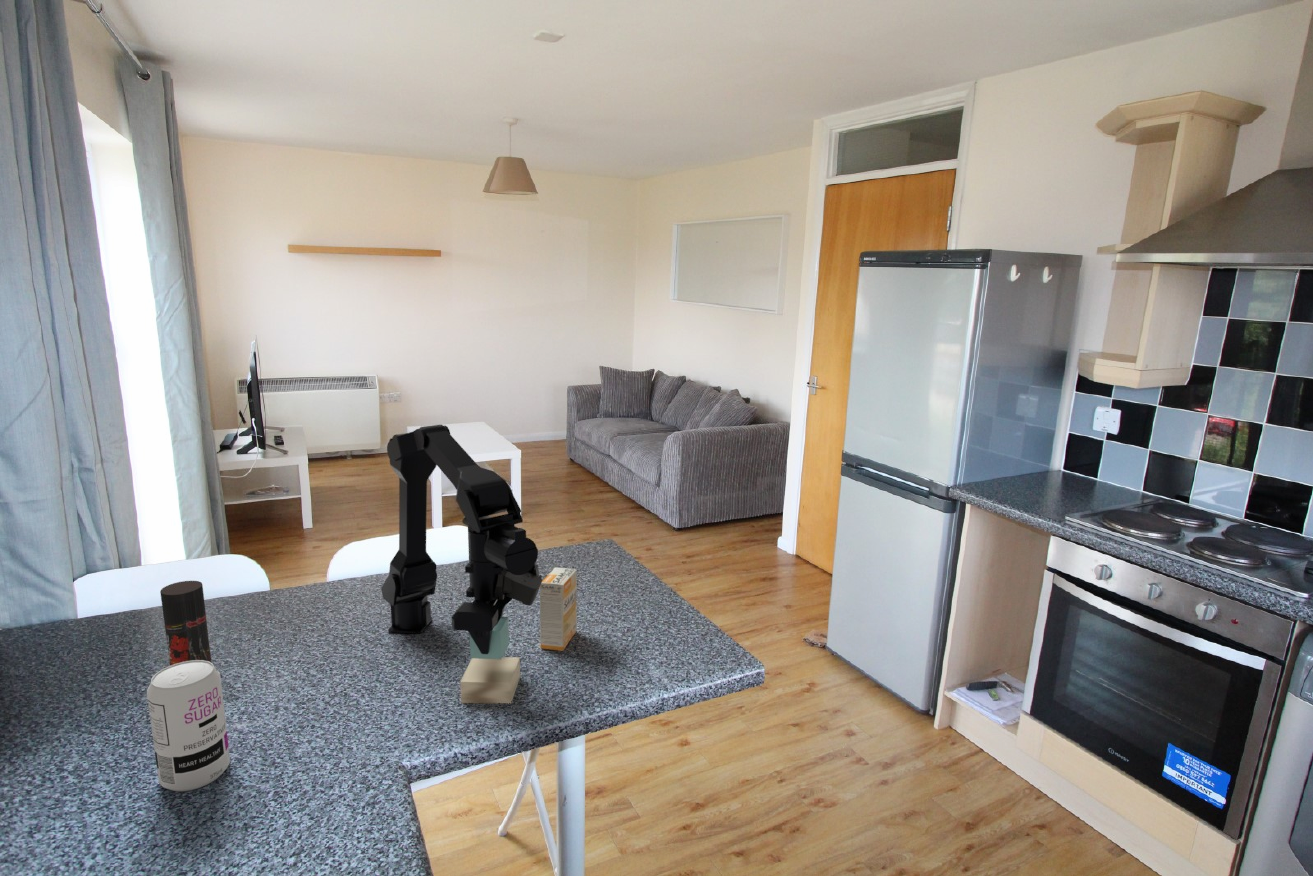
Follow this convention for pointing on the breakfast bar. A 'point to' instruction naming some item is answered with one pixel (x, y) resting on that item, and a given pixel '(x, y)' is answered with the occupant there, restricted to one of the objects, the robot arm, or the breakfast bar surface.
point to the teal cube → (494, 642)
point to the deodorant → (185, 622)
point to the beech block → (490, 680)
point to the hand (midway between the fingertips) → (489, 645)
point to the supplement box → (558, 608)
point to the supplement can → (188, 725)
